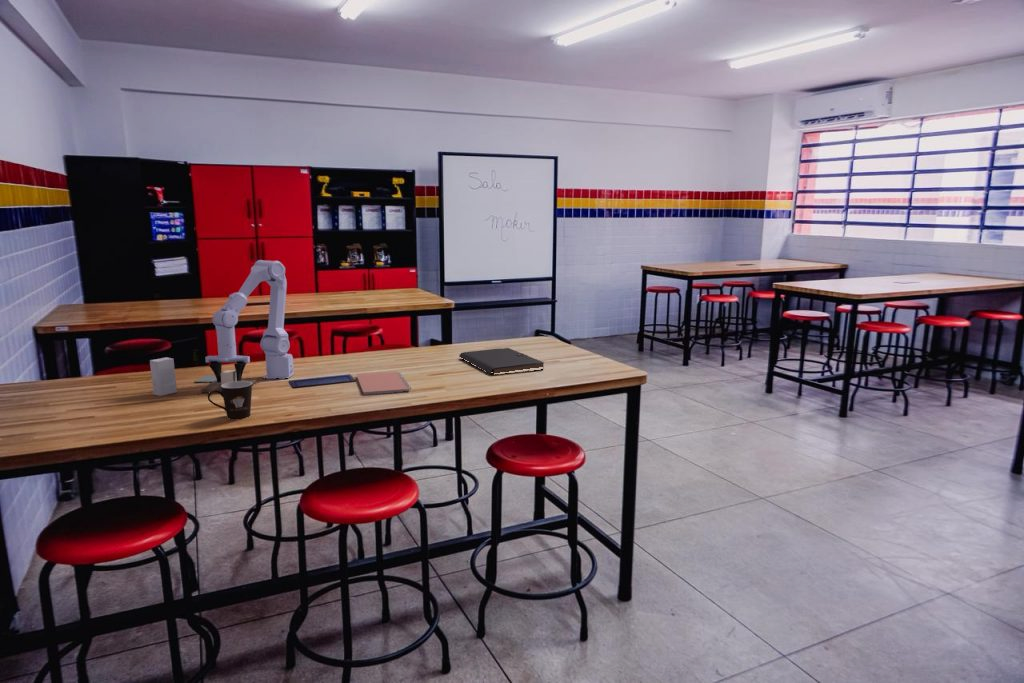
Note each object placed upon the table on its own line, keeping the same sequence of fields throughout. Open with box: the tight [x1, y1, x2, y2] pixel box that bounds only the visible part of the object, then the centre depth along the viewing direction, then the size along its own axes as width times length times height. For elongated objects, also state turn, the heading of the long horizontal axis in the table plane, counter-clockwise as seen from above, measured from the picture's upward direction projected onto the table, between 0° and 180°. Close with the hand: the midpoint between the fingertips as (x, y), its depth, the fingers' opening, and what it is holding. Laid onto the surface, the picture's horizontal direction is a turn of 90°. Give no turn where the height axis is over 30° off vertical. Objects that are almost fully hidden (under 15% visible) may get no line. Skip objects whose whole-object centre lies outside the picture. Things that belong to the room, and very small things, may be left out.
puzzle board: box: [201, 379, 257, 393], centre depth 220 cm, size 14×13×2 cm
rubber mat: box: [194, 375, 217, 383], centre depth 232 cm, size 9×9×1 cm
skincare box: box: [149, 356, 178, 397], centre depth 212 cm, size 6×4×12 cm
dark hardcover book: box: [459, 347, 545, 375], centre depth 263 cm, size 33×4×24 cm
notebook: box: [355, 370, 412, 396], centre depth 229 cm, size 27×17×2 cm, turn 19°
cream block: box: [221, 370, 237, 385], centre depth 220 cm, size 4×4×6 cm
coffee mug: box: [207, 381, 253, 420], centre depth 188 cm, size 12×9×10 cm
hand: (229, 382), depth 220 cm, fingers open, 6 cm apart
